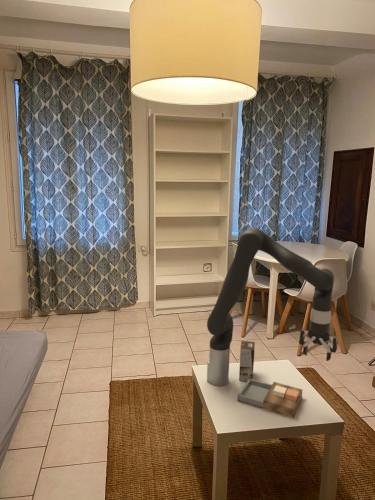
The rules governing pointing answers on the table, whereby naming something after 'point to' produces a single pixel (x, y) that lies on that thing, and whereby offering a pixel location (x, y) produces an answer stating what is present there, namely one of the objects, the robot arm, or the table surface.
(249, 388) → the bin
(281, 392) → the tile
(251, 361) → the coffee box
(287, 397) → the tile
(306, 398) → the table surface
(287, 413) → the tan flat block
